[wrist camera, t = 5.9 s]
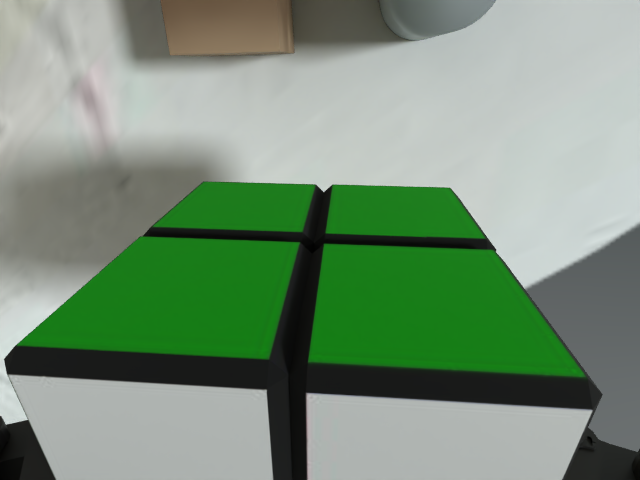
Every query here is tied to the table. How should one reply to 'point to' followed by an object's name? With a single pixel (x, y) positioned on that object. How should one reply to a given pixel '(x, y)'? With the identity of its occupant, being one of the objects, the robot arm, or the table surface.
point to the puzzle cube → (304, 348)
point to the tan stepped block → (228, 27)
